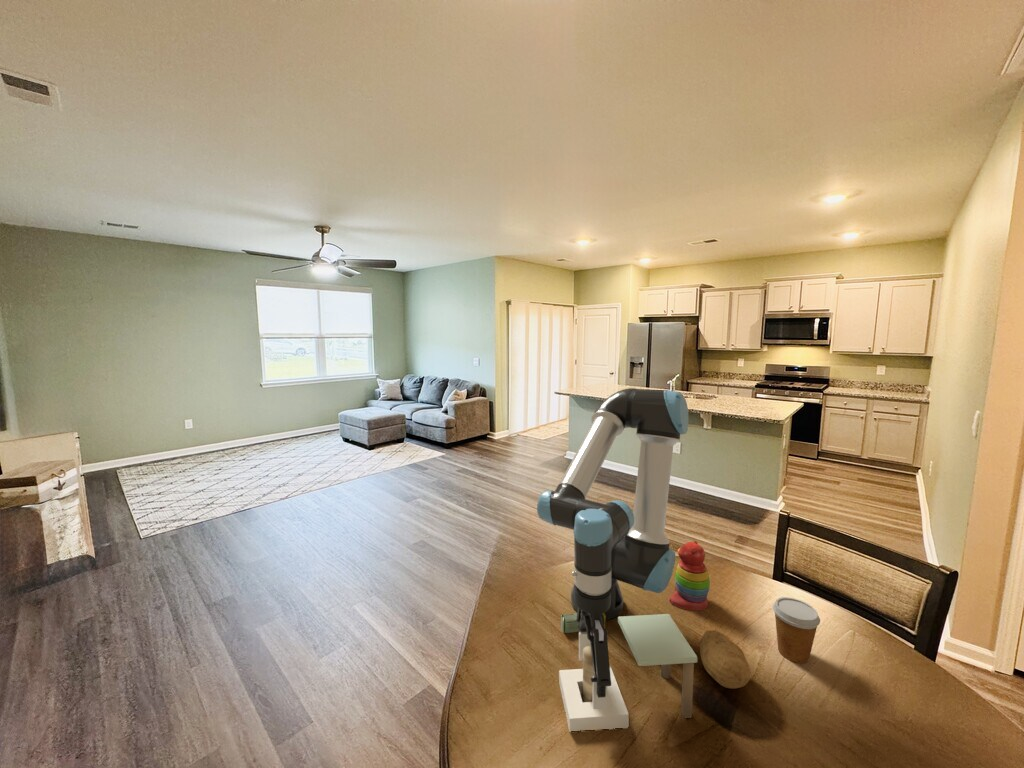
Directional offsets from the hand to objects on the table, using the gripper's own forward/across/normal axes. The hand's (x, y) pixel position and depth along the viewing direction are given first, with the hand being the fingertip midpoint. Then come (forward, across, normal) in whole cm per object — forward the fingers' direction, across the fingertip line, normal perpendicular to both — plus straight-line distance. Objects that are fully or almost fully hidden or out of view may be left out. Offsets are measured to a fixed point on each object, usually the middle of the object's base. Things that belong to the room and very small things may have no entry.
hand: (591, 681), depth 87 cm
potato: (+5, -5, +32) cm, 33 cm away
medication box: (+6, -23, +4) cm, 24 cm away
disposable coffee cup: (+5, -10, +53) cm, 54 cm away
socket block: (+5, 0, 0) cm, 5 cm away
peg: (+5, 0, 0) cm, 5 cm away
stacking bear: (+5, -32, +38) cm, 50 cm away
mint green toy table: (+5, -1, +14) cm, 15 cm away
